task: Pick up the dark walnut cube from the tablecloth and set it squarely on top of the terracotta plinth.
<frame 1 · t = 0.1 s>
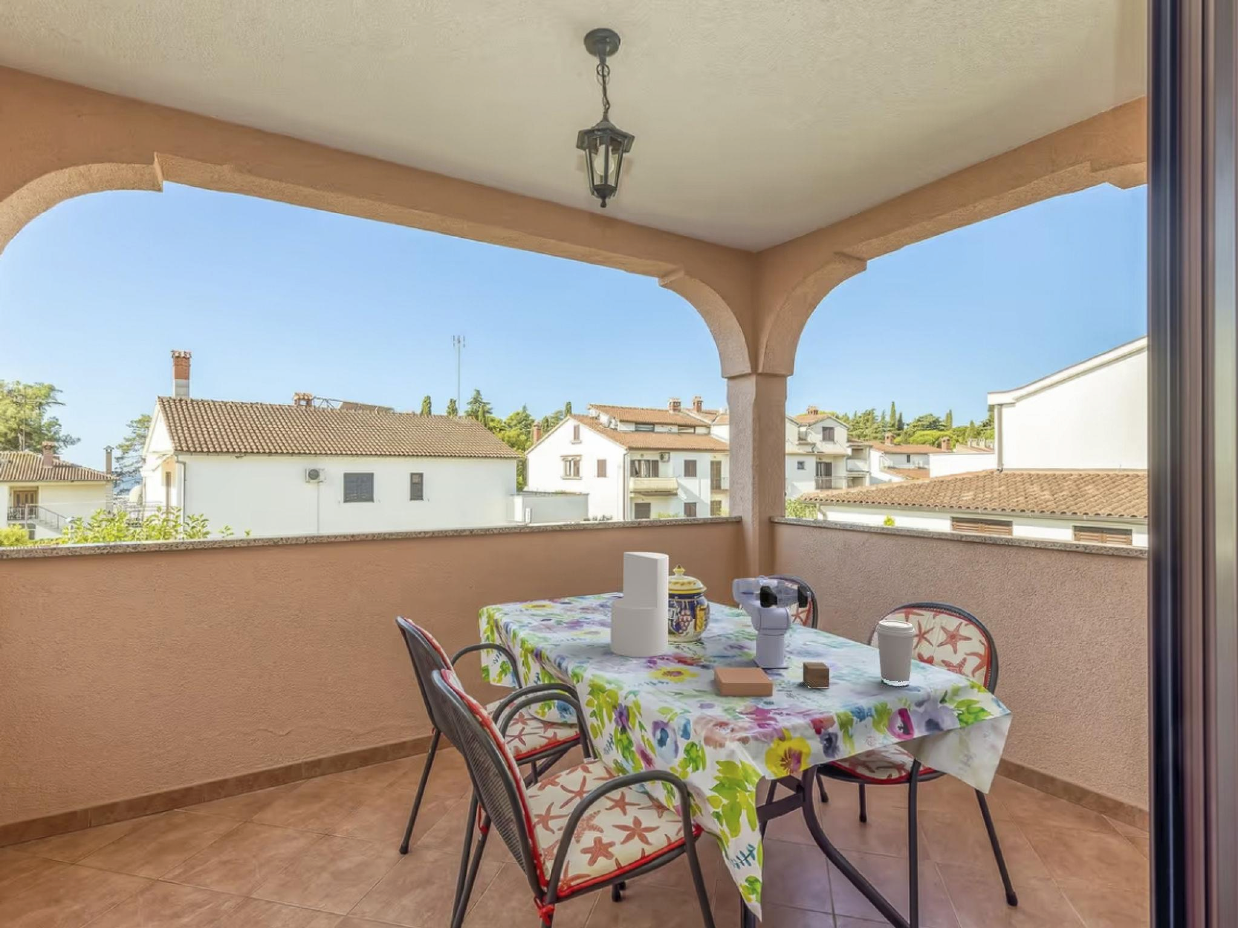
hand: (791, 600, 159), 22 cm above the table, tool horizontal, fingers open, 7 cm apart
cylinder: (639, 649, 193), on the table
walnut block: (815, 685, 161), on the table
terracotta plinth: (742, 686, 159), on the table
coffee cup: (895, 683, 164), on the table
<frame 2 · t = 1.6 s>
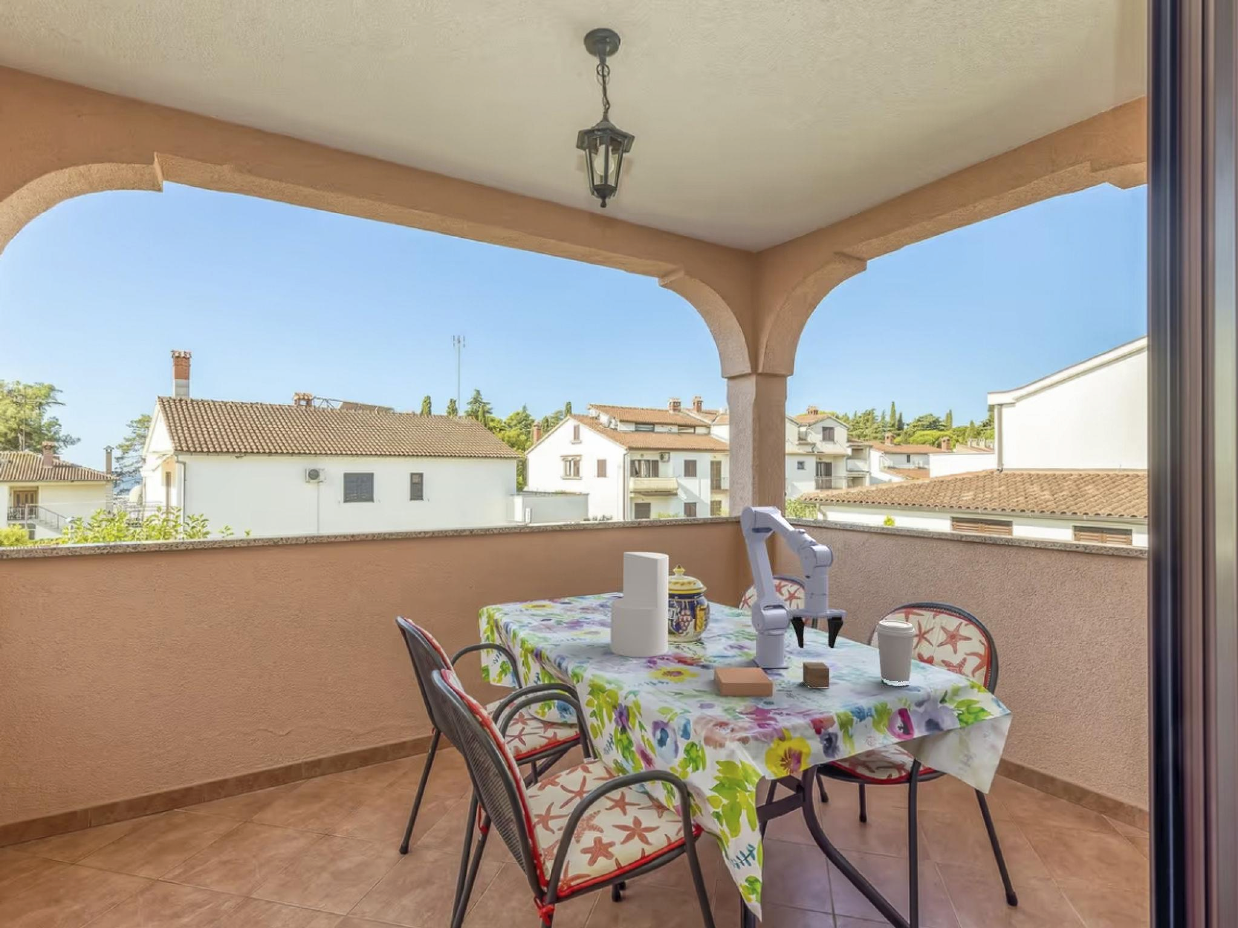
hand: (816, 647, 161), 9 cm above the table, tool pointing down, fingers open, 7 cm apart
nothing on the table moved.
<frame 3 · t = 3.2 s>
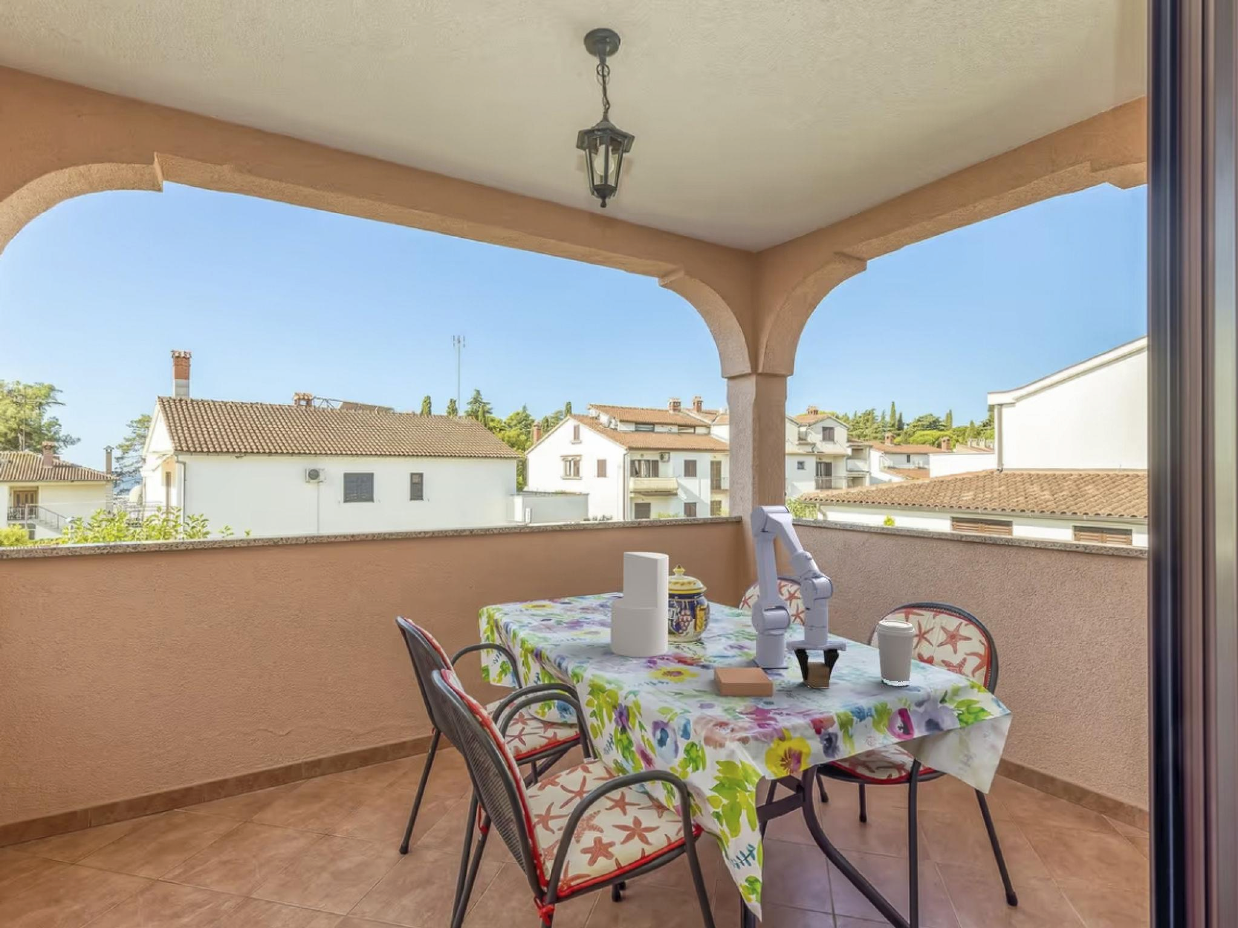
hand: (815, 679, 161), 1 cm above the table, tool pointing down, fingers closed on walnut block, 5 cm apart
walnut block: (815, 684, 161), on the table, touching gripper
everything else where it was.
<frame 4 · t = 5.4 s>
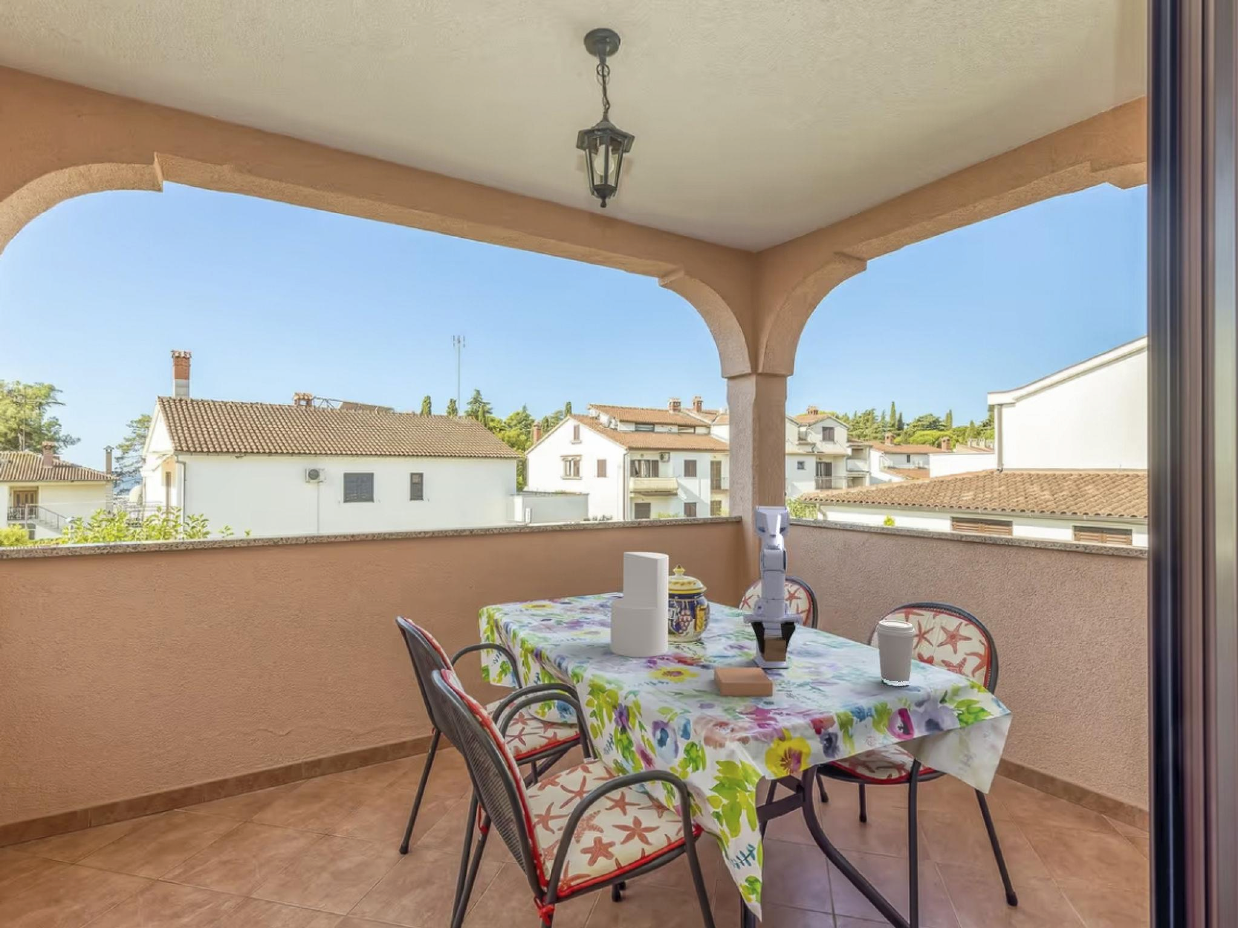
hand: (772, 652, 160), 8 cm above the table, tool pointing down, fingers closed on walnut block, 5 cm apart
walnut block: (773, 658, 160), point 7 cm above the table, touching gripper
everything else where it was.
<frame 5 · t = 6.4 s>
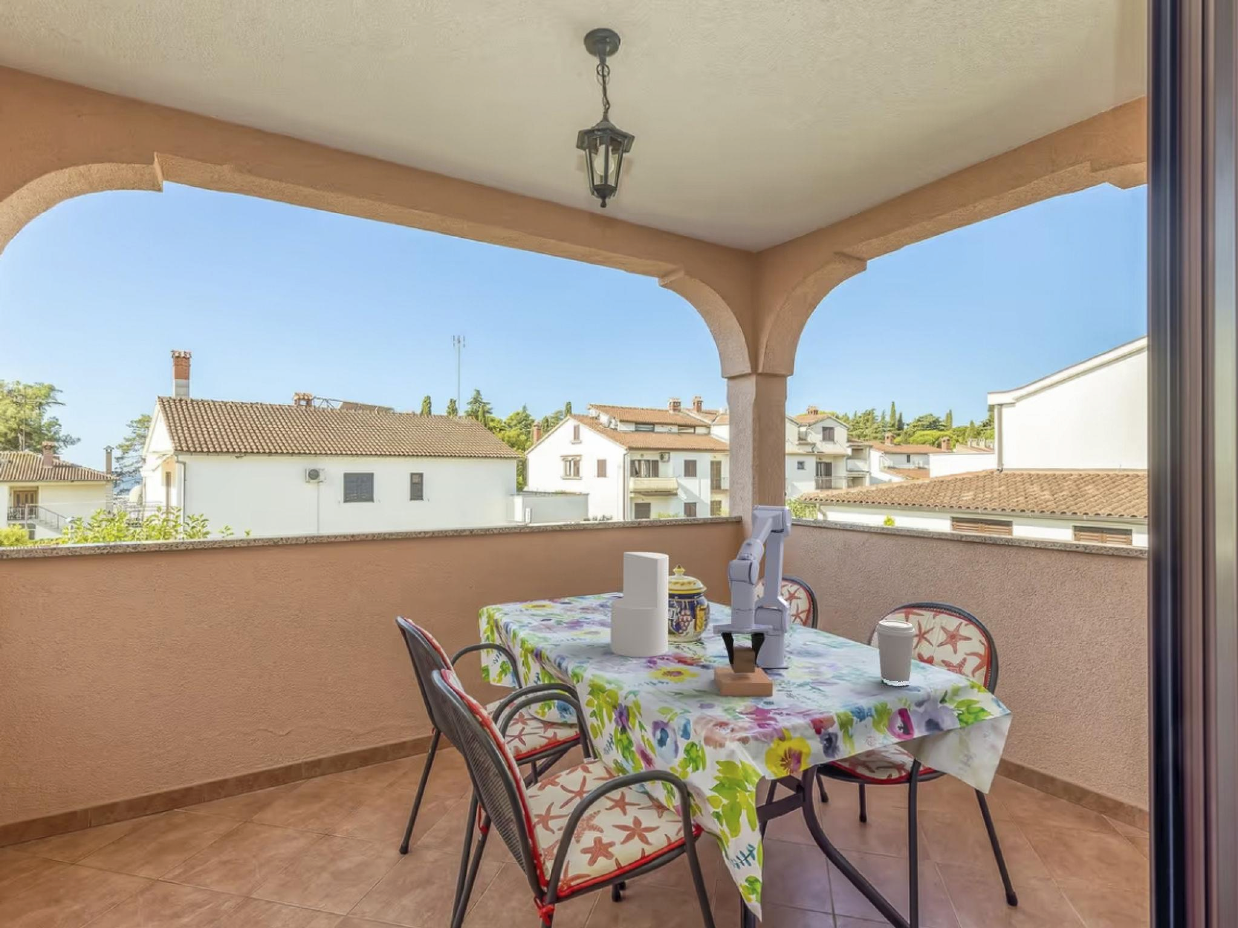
hand: (742, 663, 159), 6 cm above the table, tool pointing down, fingers closed on walnut block, 5 cm apart
walnut block: (742, 669, 159), point 4 cm above the table, touching gripper
everything else where it was.
when the fingers open (5 cm above the table, at t = 7.4 s): walnut block stays where it is, resting on terracotta plinth.
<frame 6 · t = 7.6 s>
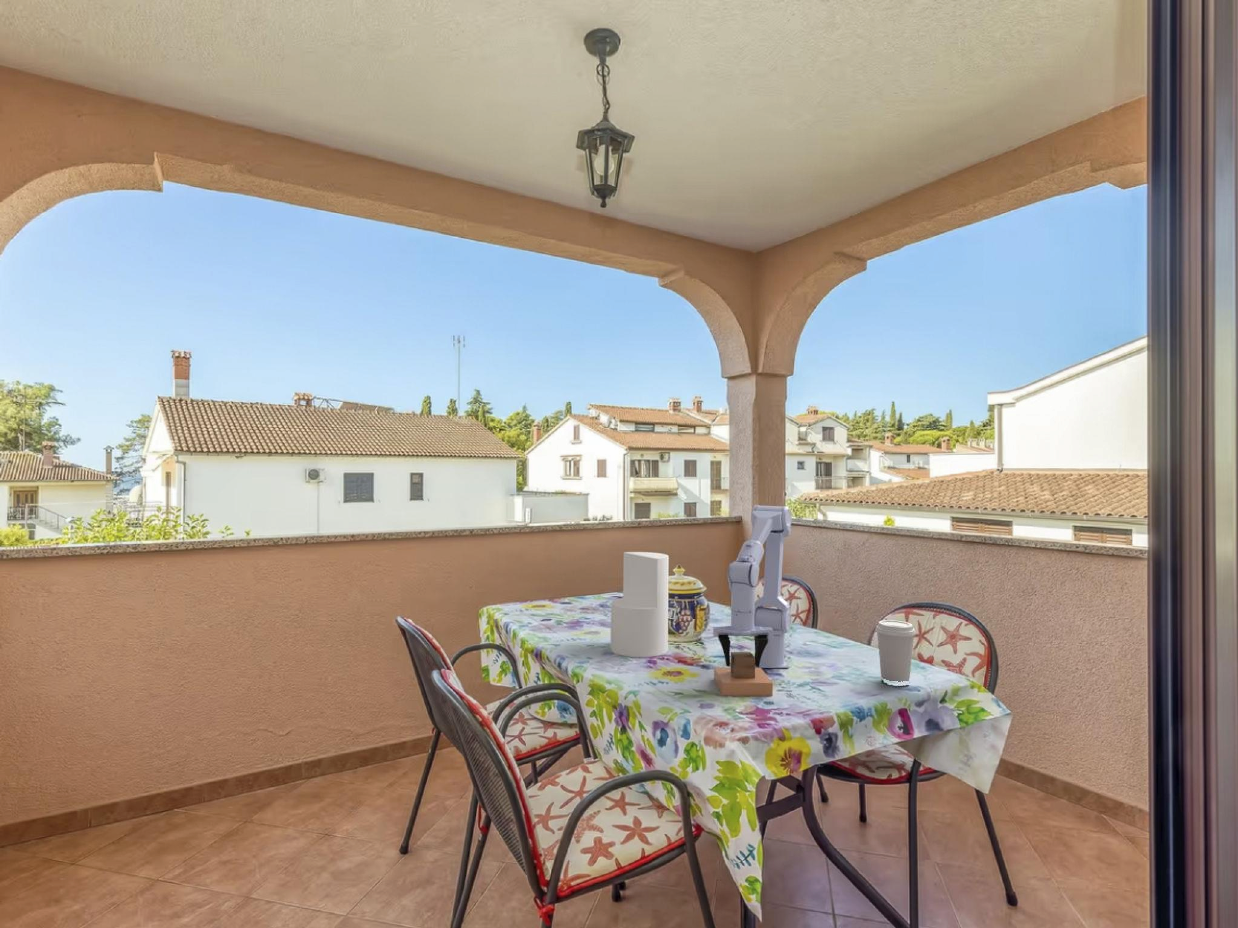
hand: (742, 665, 159), 5 cm above the table, tool pointing down, fingers open, 7 cm apart
walnut block: (742, 675, 159), point 3 cm above the table, touching terracotta plinth
everything else where it was.
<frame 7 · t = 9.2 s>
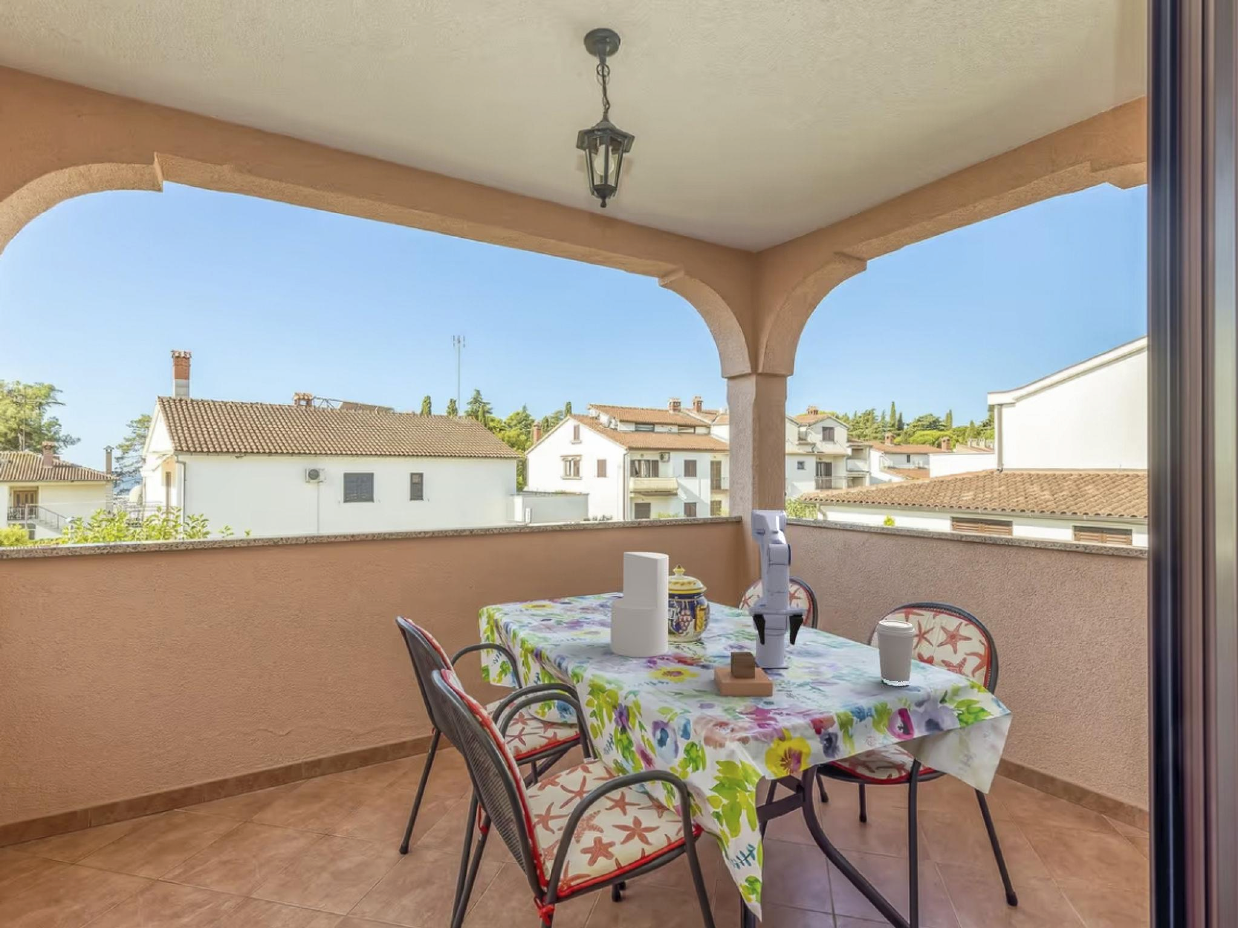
hand: (777, 643, 164), 9 cm above the table, tool pointing down, fingers open, 7 cm apart
nothing on the table moved.
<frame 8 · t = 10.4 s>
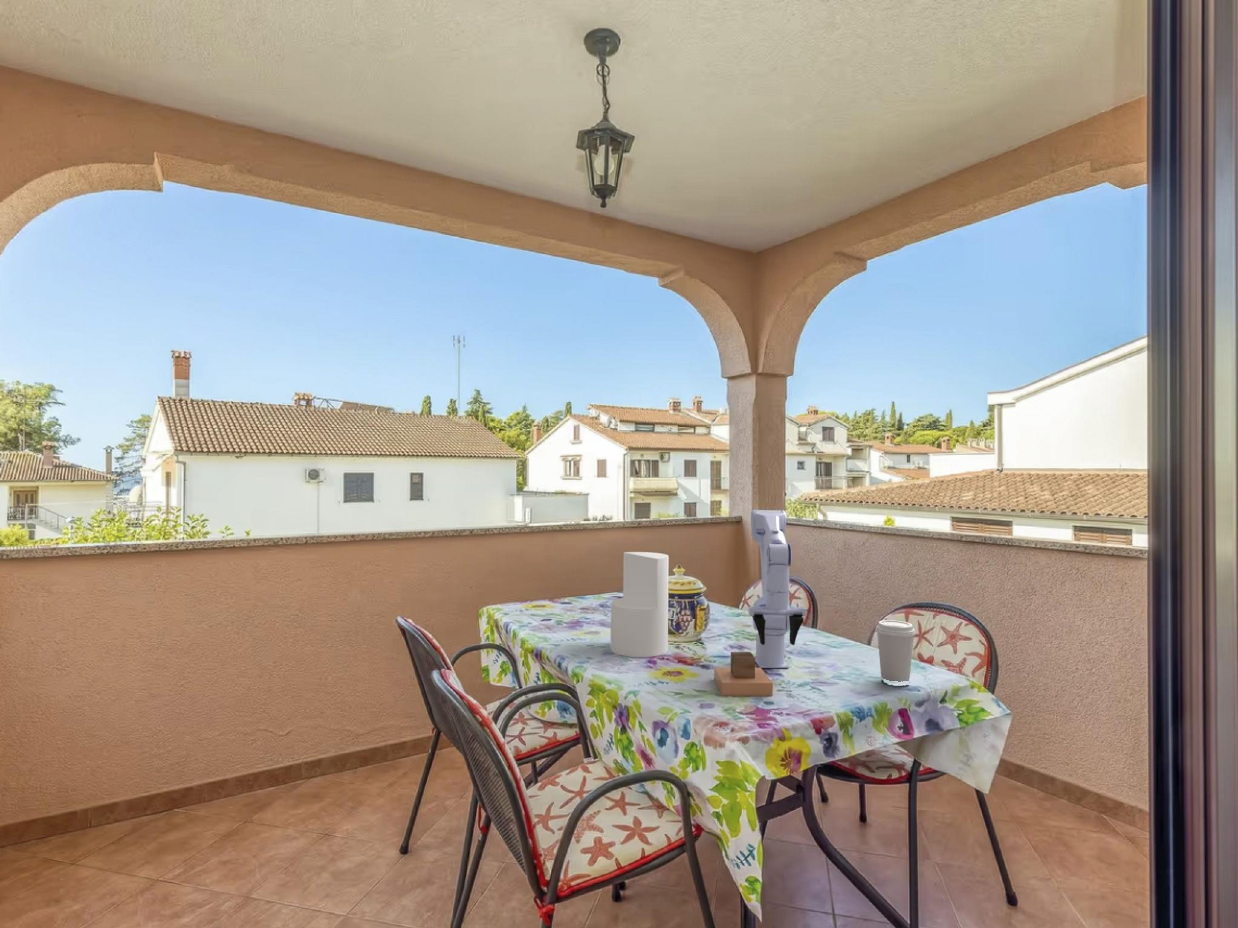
hand: (777, 643, 164), 9 cm above the table, tool pointing down, fingers open, 7 cm apart
nothing on the table moved.
at the end: walnut block inside the target area on the terracotta plinth (0.1 cm from its centre), point 3.0 cm above the terracotta plinth's base; walnut block tilted 0°; the gripper is holding nothing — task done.
